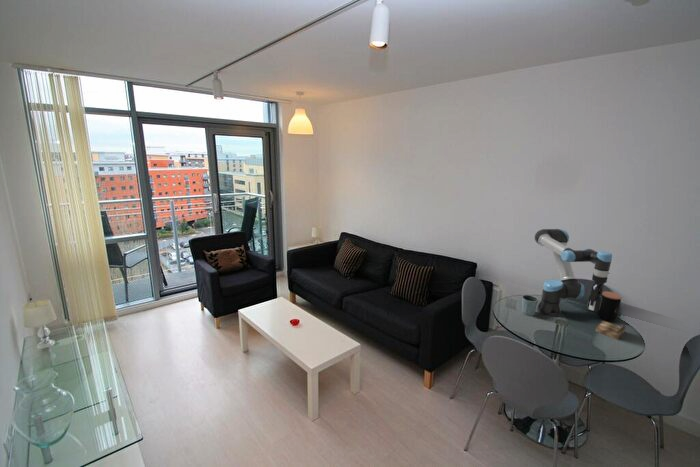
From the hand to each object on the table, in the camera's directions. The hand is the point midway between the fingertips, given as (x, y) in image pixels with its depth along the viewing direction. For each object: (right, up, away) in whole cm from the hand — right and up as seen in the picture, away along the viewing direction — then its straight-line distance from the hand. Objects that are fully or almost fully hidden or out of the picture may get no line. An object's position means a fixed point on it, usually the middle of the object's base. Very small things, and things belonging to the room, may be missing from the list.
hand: (593, 307), depth 211 cm
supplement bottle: (0, -1, 0) cm, 1 cm away
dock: (+11, -16, 0) cm, 19 cm away
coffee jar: (+22, -11, +16) cm, 29 cm away
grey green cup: (-30, -9, +24) cm, 39 cm away
